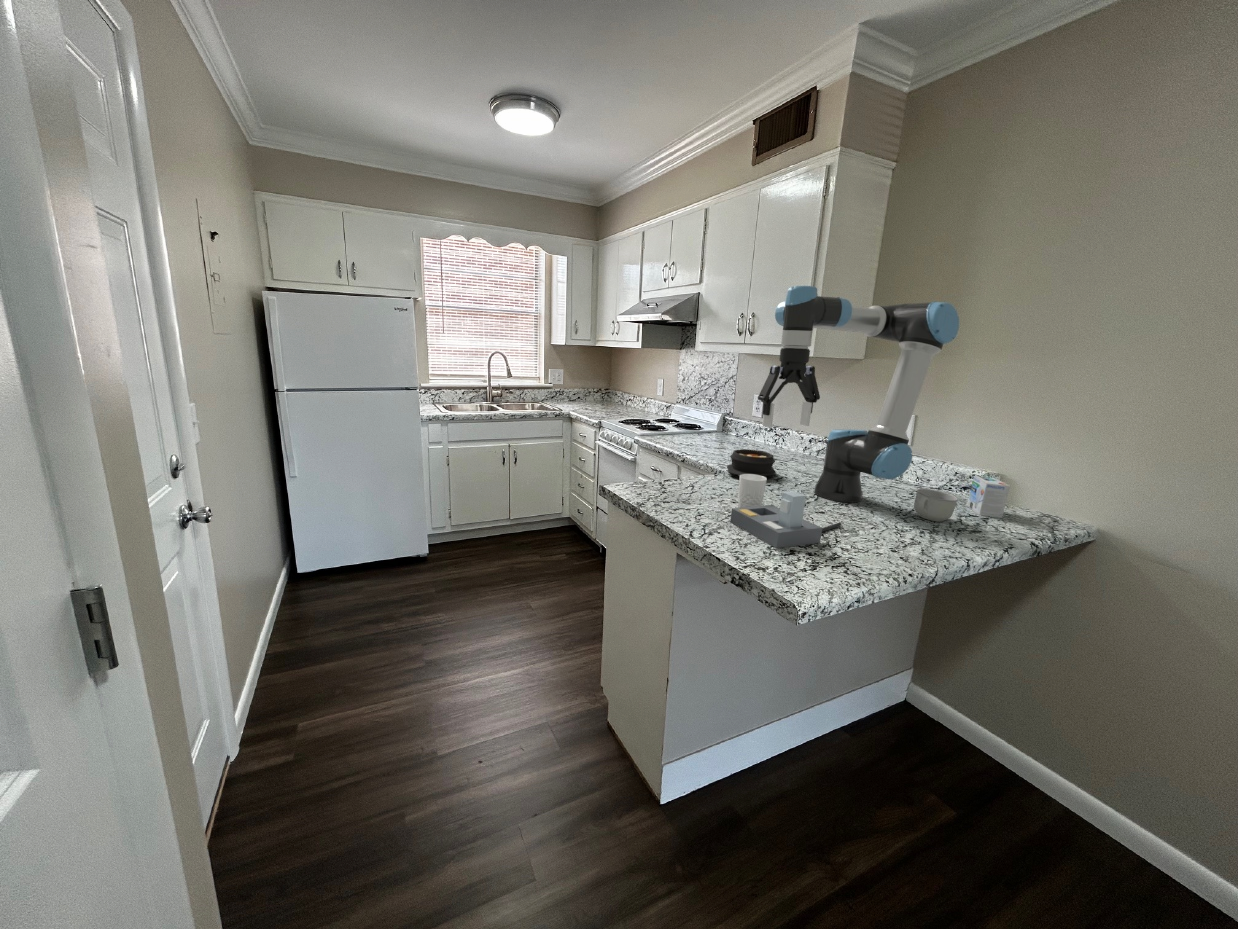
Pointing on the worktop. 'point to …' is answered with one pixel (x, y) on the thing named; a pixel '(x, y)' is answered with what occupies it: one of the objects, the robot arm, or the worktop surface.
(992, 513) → the light bulb box
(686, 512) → the worktop surface
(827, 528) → the patch cord
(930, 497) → the teacup
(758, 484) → the white cup
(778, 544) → the panel
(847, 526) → the worktop surface
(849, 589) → the worktop surface
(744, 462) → the casserole
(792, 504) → the plug
